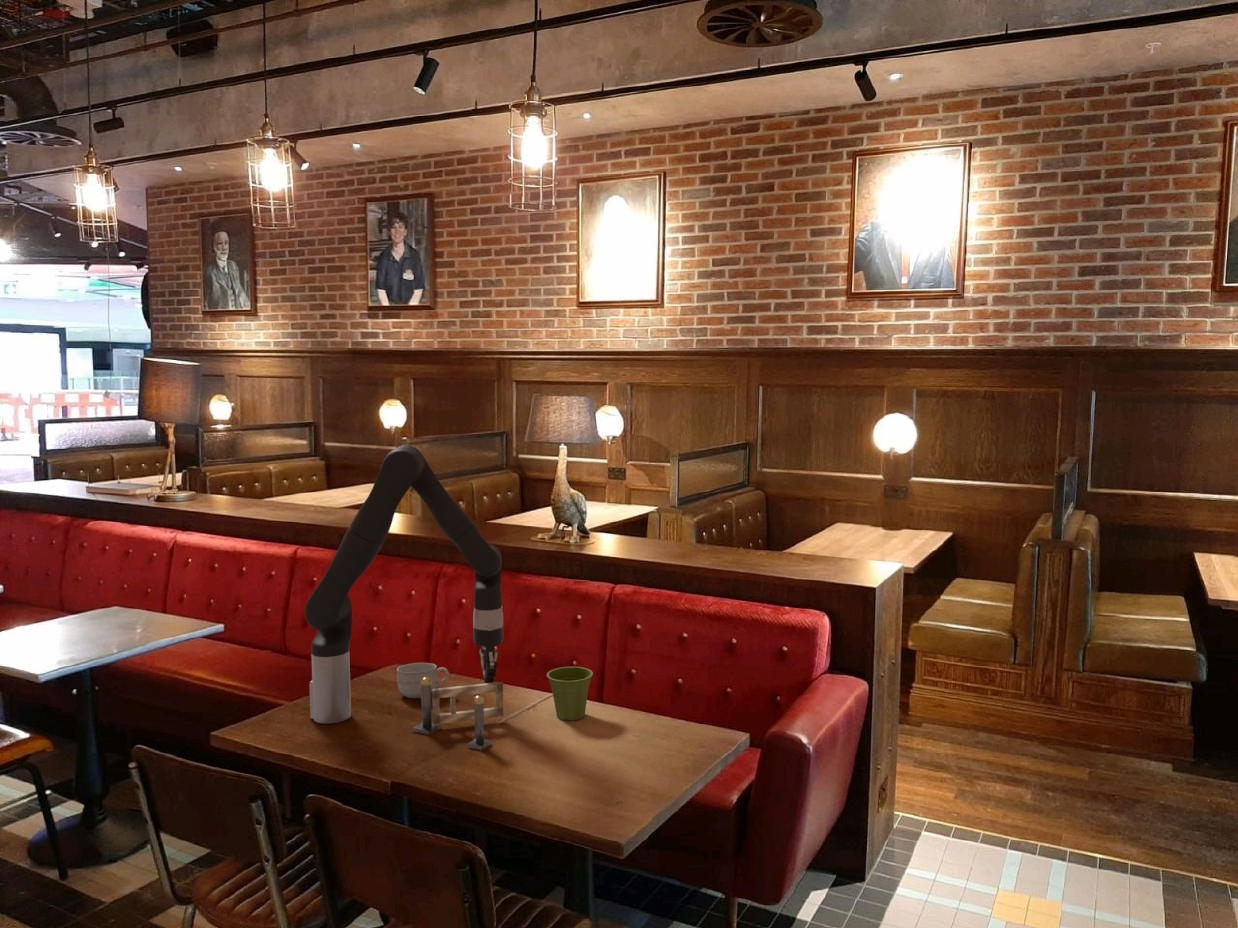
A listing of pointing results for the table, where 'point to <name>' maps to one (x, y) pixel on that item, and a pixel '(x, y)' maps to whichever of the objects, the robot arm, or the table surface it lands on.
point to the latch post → (479, 726)
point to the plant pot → (570, 691)
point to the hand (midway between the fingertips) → (488, 690)
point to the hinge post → (426, 710)
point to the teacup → (418, 678)
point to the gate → (461, 691)
